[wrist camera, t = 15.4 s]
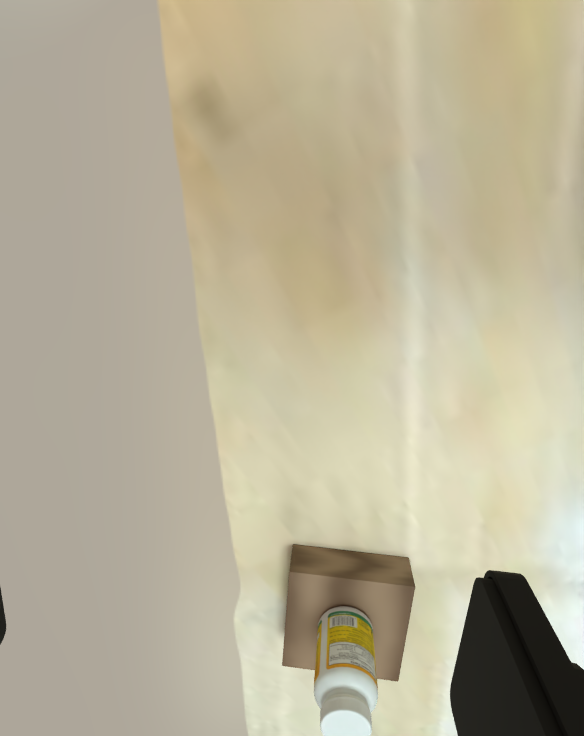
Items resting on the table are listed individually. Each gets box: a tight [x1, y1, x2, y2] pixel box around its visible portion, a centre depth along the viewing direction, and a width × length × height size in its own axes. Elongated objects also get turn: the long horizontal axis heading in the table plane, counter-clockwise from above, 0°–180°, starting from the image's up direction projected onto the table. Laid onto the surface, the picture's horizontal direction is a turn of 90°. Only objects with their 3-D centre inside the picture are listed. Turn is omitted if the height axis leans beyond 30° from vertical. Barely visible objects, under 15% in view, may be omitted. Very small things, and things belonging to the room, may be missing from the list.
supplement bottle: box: [314, 606, 378, 736], centre depth 41 cm, size 6×6×10 cm
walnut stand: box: [282, 544, 415, 681], centre depth 47 cm, size 12×12×4 cm
